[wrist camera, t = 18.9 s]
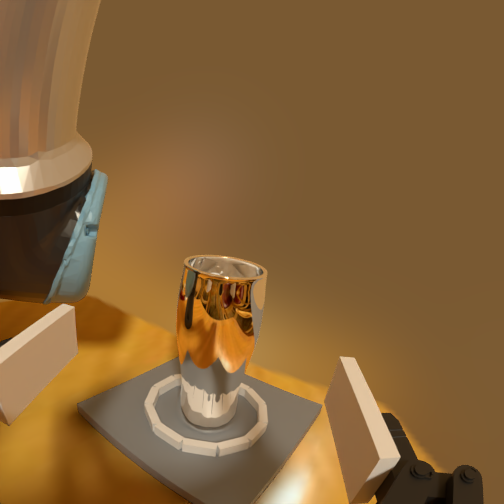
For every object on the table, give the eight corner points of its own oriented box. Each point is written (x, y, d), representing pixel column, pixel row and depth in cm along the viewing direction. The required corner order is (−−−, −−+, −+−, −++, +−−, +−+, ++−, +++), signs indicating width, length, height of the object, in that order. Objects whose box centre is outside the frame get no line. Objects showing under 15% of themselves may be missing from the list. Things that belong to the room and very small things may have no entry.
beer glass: (203, 385, 33) (220, 251, 30) (256, 414, 29) (286, 271, 26) (156, 409, 27) (162, 258, 24) (211, 449, 23) (234, 285, 20)
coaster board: (78, 412, 24) (75, 396, 24) (191, 357, 40) (193, 342, 40) (233, 526, 16) (237, 513, 16) (319, 413, 32) (324, 398, 31)
